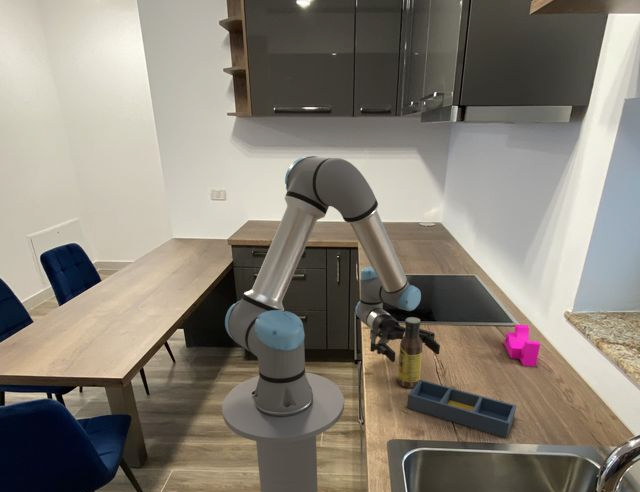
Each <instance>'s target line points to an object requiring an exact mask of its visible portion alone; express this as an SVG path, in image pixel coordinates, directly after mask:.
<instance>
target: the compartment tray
mask: <svg viewBox="0 0 640 492" xmlns="http://www.w3.org/2000/svg"><path fill="white" fill-rule="evenodd" d="M406 408H407V409H409V410H412V411H413V410H414V411H417V412H419V413H423V414H426V415H430V416H432V417H437V418H439V419H442V420H446V421H450V422H452V423H456V424H459V425H463V426H466V427H468V428H473V429H475V430H478V431H482V432H486V433H488V434H493V435H496V436H499V437H501V438H505V439H507V438H508V435H509V432H510V430H511V427H512V425H513V422H514V418H515V414H516V410H517V404H513V403H509V402H505V401H501V400H498V399H494V398H491V397H486V396H483V395H480V394H476V393H472V392H468V391H464V390H461V389H457V388H453V387H450V386H446V385H442V384H439V383H435V382H431V381H428V380H423V379H420V381H419V382H418V383H417V385H416V386H415V387H413V388H411V390H410V391H409V393H408V394H407V407H406Z"/></svg>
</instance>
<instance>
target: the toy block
mask: <svg viewBox="0 0 640 492" xmlns="http://www.w3.org/2000/svg"><path fill="white" fill-rule="evenodd" d="M503 344H504V347H505V349H506V351H507V353H508V356H509V357H510V359H518V360H519V361H520V362H521V365H522V366H523V367H536V366H537V361H538V358H539V357H538V356H539V351H540V347H541V343H540V342H539V341H538V340H537V341H536V340H530V327H529V325H527V324H515V326H514V331H513V332H510V331H507V332H506V333H505V339H504V343H503Z"/></svg>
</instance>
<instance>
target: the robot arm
mask: <svg viewBox="0 0 640 492" xmlns="http://www.w3.org/2000/svg"><path fill="white" fill-rule="evenodd" d="M284 184H285V190H286V193H285V196H284V200H285V203H286V208H285V211H284V213H283V215H282V218H281V220H280V222H279V224H278V227H277V229H276V232H275V234H274V236H273V239H272V240H271V243H270V246H269V248H268V251H267V253H266V255H265V258H264V260H263V262H262V264H261V267H260V270H259V272H258V274H257V276H256V278H255V281H254V284H253V285H252V288H251V289H250V290H248V291H244V293H243V294H242V297H241V299H240V300H238V301H236V303H233V304H232V305H231V306H230V307H229V308H228V309H227V312H226V315H225V319H224V326H225V331H226V332H227V334H228V336H229V337H230V338H231V339H232V340H233V341H234V343H236V344H237V345H239V346H241V347H242V348H244V349H245V350H247V351H248V352H250V353H251V354H252V355H254V356H255V357H257V365H258V376H259V380H258V384H257V387H256V390H255V391H253V392H252V395H254V394H255V395H254V403H255V407H256V408H257V410H258V411H260V412H261V413H263V414H266V415H269V416H274V417H287V416H293V415H296V414H299V413H301V412H303V411H305V410H307V409H308V408H309V407H310V406H311V404H312V402H313V392H312V389H311V387H310V385H309V382H308V379H307V377H306V374H305V372H306V358H305V357H306V355H305V337H306V334H305V330H304V323H303V321H302V319H301V318H300V317H299V316H298V315H297V314H295V313H293V312H291V311H287V310H286V311H285V308H284V305H283V301H284V297H285V295H286V293H287V291H288V288H289V286H290V283H291V281H292V279H293V277H294V274H295V272H296V270H297V268H298V265H299V262H300V260H301V258H302V256H303V253H304V251H305V249H306V246H307V244H308V242H309V239H310V238H311V235H312V232H313V230H314V228H315V225H316V223H317V221H319V220H321V219H323V218H325V217H326V214H327V212H328V210H329V208H330V207H332V208H334V209H335V210H337V212H338V213H339V214H341V217H342V219H343V221H344V222H346V223H348V224H349V225H350V226H351V228H352V230H353V232H354V234H355V236H356V238H357V240H358V241H359V244H360V246H361V248H362V249H363V252H364V254H365V255H366V257H367V260H368V262H369V263H370V265H371V266H365V267H363V268H362V269H361V270H360V280H359V301H358V302H357V304H356V305H355V309H354V310H355V315H356V316H357V317H358V319H359V320H360V322H362V323H363V324H364V325H366V326H367V327H368V328H369V329H370V330H369V339H370V347H369V348H370V350H369V351H370V353H371V352H375V351H376V354H377V355H382V356H386V358H387V359H388V360H390V362H391V363H395V362H396V352H395V350H393V349H392V348H391V347H390V346H389V345H388V343H389V342H390V341H396V340H402V338H403V337H404V336H405V330H406V327H404V326H403V325H400V323H399V321H398V320H397V319H396V318H395V317H394V316H392V315H391V314H390V313H389V312H387V311H386V310H385V309H384V308H383V307H384V306H383V305H384V303H385V304H387V305H390V306H392V307H395V308H397V309H399V310H403V311H407V312H411V311H412V312H413V311H414V310H415V309H416V308H417V307H418V306H419V305H420V302H421V301H422V299H421V298H422V293H421V290H420V289H419V288H418V287H416V286H415V285H412V284H410V282H409V280H408V279H407V276H406V274H405V271H404V268H403V267H402V265H401V262H400V260H399V257H398V255H397V253H396V251H395V248H394V246H393V244H392V242H391V240H390V237H389V235H388V233H387V230H386V228H385V226H384V223H383V221H382V219H381V217H380V214H379V212H378V208H379V207H378V206H379V203H378V200H377V198H376V196H375V194H374V191H373V189H372V187H371V186H370V184H369V182H368V181H367V179H366V177H365V176H364V175H363V174H362V173H361V171H360V170H359V169H358V168H357V167H356V166H355V165H354V164H353V163H351V162H349V161H348V160H346V159H343V158H341V157H321V156H320V157H319V156H315V155H311V156H304V157H300V158H298V159H296V160H294V161H293V162H291V164H290V165H289V167H288V168H287V171H286V173H285V177H284ZM435 335H436V334H435V332H432V331H429V330H425V329H423V328H421V327H419V337H420V339H421V340H422V343H423V344H424V346H425V347H427V348H428V349H429V350H431V352H433V353H434V354H435V355H440V350H441V344H439V343H438V342H437V340H435ZM377 338H379V340H378V341H377ZM376 341H377V343H376Z"/></svg>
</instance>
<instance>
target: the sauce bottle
mask: <svg viewBox="0 0 640 492" xmlns="http://www.w3.org/2000/svg"><path fill="white" fill-rule="evenodd" d="M404 324H405V328H406V330H405V332H404V335H403V338H402V339H400V342H399V355H398V372H397V376H398V379H397V380H398V383H399V385H401V386H402V387H404V388H408V389H413V388H414V387H415V386H416V385H417V383H418V382H419V381H420V380H421V375H422V360H423V345H424V343H422V340H421V339H420V337H419V328H421V319H420V318H418V317H414V316H409V317H406V319H405V321H404Z"/></svg>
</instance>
